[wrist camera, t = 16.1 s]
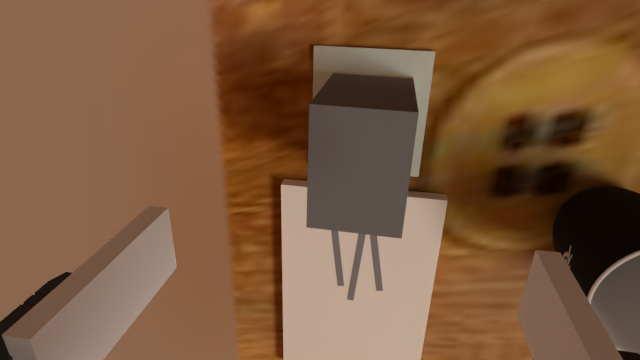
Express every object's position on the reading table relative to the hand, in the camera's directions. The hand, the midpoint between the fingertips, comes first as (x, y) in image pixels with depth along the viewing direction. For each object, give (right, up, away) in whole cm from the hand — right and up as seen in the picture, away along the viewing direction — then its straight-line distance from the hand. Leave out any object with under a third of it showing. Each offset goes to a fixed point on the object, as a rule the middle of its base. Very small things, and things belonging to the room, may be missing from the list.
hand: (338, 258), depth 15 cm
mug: (+23, -2, +20) cm, 30 cm away
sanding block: (+3, +7, +18) cm, 20 cm away
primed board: (+3, -8, +26) cm, 27 cm away
